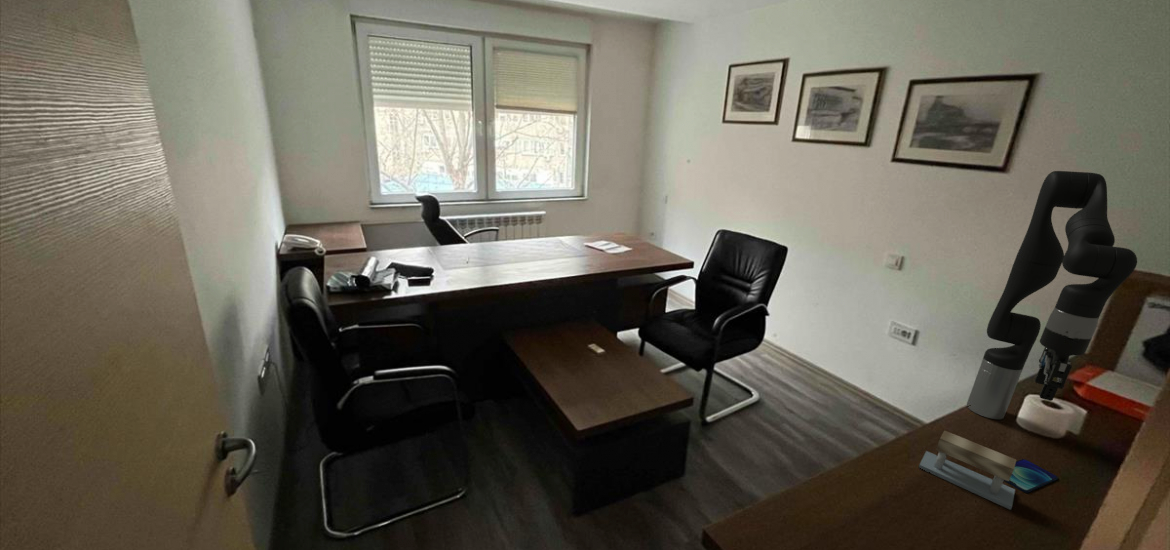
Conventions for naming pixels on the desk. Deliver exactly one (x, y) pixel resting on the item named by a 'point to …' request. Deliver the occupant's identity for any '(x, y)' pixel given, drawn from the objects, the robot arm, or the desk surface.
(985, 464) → the birch plank
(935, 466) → the peg rack
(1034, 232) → the robot arm
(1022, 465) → the smartphone
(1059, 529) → the desk surface
